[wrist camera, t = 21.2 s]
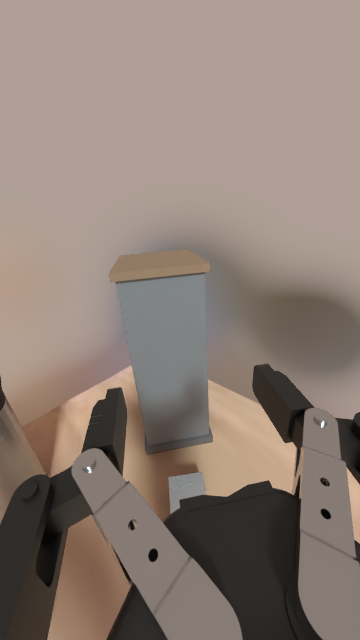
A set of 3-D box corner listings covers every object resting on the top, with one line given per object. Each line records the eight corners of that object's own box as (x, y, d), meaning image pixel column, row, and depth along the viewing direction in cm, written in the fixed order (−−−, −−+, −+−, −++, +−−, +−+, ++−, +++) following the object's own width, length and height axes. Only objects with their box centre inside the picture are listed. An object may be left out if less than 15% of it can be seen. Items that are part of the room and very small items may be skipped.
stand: (145, 397, 52) (119, 255, 38) (196, 388, 53) (188, 249, 40) (146, 454, 39) (108, 273, 26) (212, 441, 41) (209, 263, 27)
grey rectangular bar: (170, 489, 34) (168, 477, 33) (202, 484, 34) (202, 471, 33) (186, 764, 17) (183, 762, 16) (250, 749, 17) (253, 745, 16)
